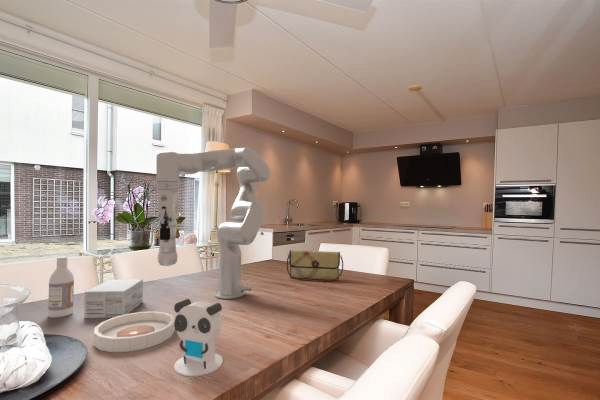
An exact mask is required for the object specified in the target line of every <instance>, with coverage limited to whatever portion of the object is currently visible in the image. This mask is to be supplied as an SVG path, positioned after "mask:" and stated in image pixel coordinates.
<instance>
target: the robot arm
mask: <svg viewBox="0 0 600 400" xmlns="http://www.w3.org/2000/svg"><path fill="white" fill-rule="evenodd" d="M155 161H156V162H155V163H156V165H155V166H156V167H155V168H156V177H155V178H156V179H155V180H156V183H155V184H156V192H158V199H157V218H158V219H159V220H160V239H159V241H160V240H170V228H169V224H170V218H171V220H174V219H176V220H178V219H179V217H180V211H179V210H180V208H179V207H180V205H179V194H178V193H179V192H180V186H181V185H180V183H181V181H180V175H181V176H183V175H193V174H194V175H195V174H197V173H201V172H202V173H205V172H206V173H209V172H210V173H211V172H218V171H225V170H232V169H237V170H236V178H237V182H238V185H239V192H238V194H237V196H236V198H235V200H234V203H233V205H232V206H231V209H230V212H229V216H230V218H231V219H232V221H229V220H228V221H224V222H221V223H220V224H219V225H218V226H217V229H216V239H217V243H218V283H217V284H218V286H217V287H218V288H217V290H215V292H214V294H213V295H214V297H215V298H218V299H223V300H229V299H238V298H241V297H243V296H245V291H247V292H250V291H252V286H251V285H244V284H243V282H242V250H241V247H240V246H249V245H251V244H252V243H253V242H254V241H255V239H256V237H257V235H258V233H259V230H260V228H261V226H262V223H263V220H264V218H265V207H264V205H263V204H262V203H261V202H260V201H257V198H258V191H257V189H256V187H255V185H254V183H265V182H267V181H269V179H270V177H271V169H270V167H269V165H268V164H267V162H266V161H264V159H263V158H262V157H261V156H260V155H259V154H258V153H257V152H256V151H255V150H254V149H253V148H251V147H244V146H243V147H237V148H234V147H233V148H225V149H223V148H222V149H214V150H213V149H212V150H206V151H202V152H201V151H200V152H194V153H179V152H178V153H177V152H175V151H167V150H166V151H164V150H163V151H159V152H157V154H156V160H155ZM165 218H168V219H165Z"/></svg>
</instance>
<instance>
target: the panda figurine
mask: <svg viewBox="0 0 600 400" xmlns="http://www.w3.org/2000/svg"><path fill="white" fill-rule="evenodd" d="M173 309H174V312H175V313H176V316H175V317H174V319H175V322H174V327H175V332H176V333H177V335H178V337H179V338H180V340H181V341H180V342H179V348H180V349H181V350H182V351H183V356H181V357H180V358H179V359H177V360H176V361H175V363H174V366H173V370H174V371H175V372H176V373H177V374H179V375H180V376H184V377H199V376H200V377H201V376H205V375H208V374H211V373H213V372H215V371H217V370H218V369H219V368H220V367H222V365H223V357H222V356H221V355H220V354H218V353H217V352H216V338H217V337H218V336H219V334H220V332H221V330H222V318H221V317H222V316H221V313H220V312H221V311H222V309H223V308H222V304H221V303H219V302H216V303H214V304H213V303H211V302H207V301H201V300H199V301H195V302H191V299H189V298H185V299H183V300H181V301H178V302H175V304H174V306H173Z"/></svg>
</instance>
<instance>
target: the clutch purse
mask: <svg viewBox="0 0 600 400" xmlns="http://www.w3.org/2000/svg"><path fill="white" fill-rule="evenodd" d="M289 265H290V266H289ZM340 265H341V272H340V271H339V270H340ZM286 270H287V273H288V275H289V278H290V279H295V280H298V281H303V282H314V283H315V282H316V283H317V282H318V283H332V282H335V281H339V280H340V279H339V277H340V276H341V275H342V273H343V271H344V260H343V255H341V251H321V250H319V251H318V250H293V249H292V250H291V249H290V250H289V252H288V254H287V259H286Z"/></svg>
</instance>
